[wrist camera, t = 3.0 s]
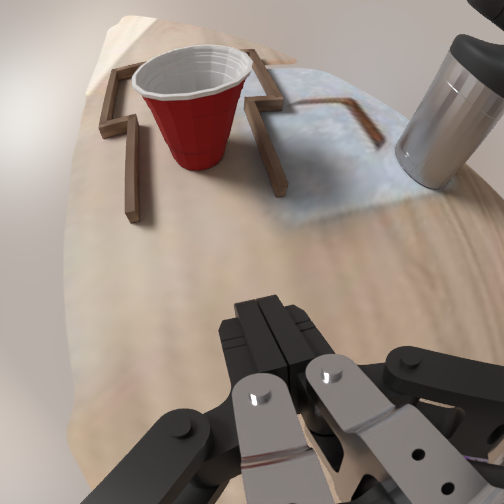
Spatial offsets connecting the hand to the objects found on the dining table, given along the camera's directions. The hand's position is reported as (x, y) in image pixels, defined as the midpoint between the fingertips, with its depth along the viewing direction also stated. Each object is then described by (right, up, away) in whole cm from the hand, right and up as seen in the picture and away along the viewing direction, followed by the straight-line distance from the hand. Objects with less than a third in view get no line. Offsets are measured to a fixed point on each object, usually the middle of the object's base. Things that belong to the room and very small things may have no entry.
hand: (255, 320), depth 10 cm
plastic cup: (-6, +14, +22) cm, 26 cm away
